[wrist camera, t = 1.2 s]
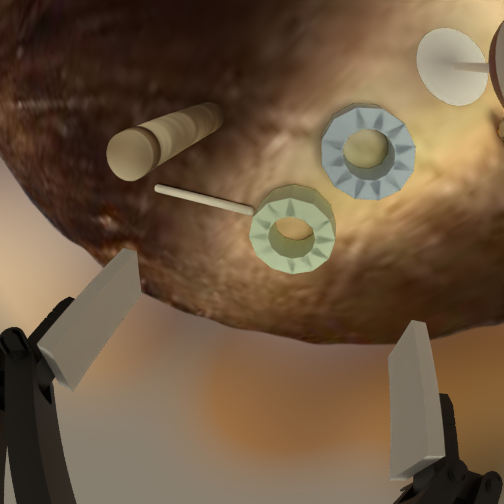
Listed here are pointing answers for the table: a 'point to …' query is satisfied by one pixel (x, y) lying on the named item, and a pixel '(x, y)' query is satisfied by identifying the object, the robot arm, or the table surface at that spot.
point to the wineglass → (460, 66)
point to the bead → (287, 250)
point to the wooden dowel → (161, 139)
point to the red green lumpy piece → (501, 129)
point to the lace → (204, 199)
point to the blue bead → (367, 179)
